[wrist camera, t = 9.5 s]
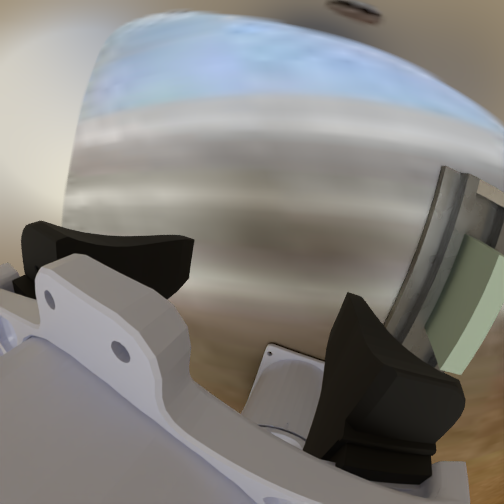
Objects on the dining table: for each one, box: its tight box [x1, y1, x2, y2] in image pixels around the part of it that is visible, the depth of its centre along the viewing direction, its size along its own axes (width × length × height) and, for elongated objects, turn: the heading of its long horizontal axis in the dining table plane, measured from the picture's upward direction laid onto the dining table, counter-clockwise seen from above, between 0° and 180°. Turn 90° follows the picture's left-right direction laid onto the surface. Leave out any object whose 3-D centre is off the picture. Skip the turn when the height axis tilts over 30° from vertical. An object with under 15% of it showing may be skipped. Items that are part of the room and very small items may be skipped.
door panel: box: [424, 234, 504, 375], centre depth 15 cm, size 8×2×6 cm, turn 166°
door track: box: [384, 166, 504, 373], centre depth 18 cm, size 20×8×2 cm, turn 167°
